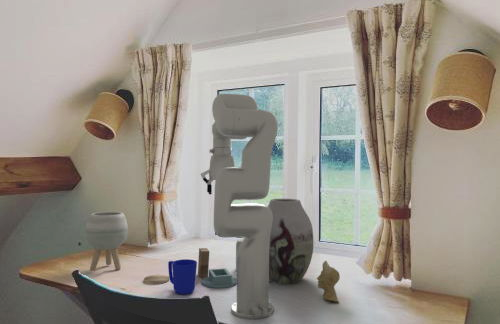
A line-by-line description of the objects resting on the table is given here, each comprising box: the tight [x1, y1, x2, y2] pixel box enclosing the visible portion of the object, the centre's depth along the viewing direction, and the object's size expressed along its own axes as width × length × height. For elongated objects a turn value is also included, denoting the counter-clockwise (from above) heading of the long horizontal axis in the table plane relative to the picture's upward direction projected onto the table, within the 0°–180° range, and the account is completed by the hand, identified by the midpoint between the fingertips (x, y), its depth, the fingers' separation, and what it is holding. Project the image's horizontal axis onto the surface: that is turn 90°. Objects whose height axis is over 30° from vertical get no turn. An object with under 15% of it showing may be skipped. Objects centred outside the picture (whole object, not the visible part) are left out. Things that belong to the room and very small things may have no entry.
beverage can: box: [235, 238, 244, 269], centre depth 154 cm, size 6×6×12 cm
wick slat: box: [197, 247, 210, 279], centre depth 145 cm, size 5×3×10 cm, turn 18°
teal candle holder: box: [201, 267, 237, 289], centre depth 137 cm, size 13×13×4 cm
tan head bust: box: [316, 260, 341, 303], centre depth 120 cm, size 8×7×12 cm
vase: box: [267, 198, 314, 285], centre depth 141 cm, size 21×21×30 cm
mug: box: [167, 258, 198, 295], centre depth 127 cm, size 8×12×10 cm
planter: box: [85, 211, 129, 272], centre depth 153 cm, size 16×16×22 cm
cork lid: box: [143, 274, 170, 285], centre depth 138 cm, size 9×9×1 cm
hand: (221, 194), depth 155 cm, fingers open, 9 cm apart
